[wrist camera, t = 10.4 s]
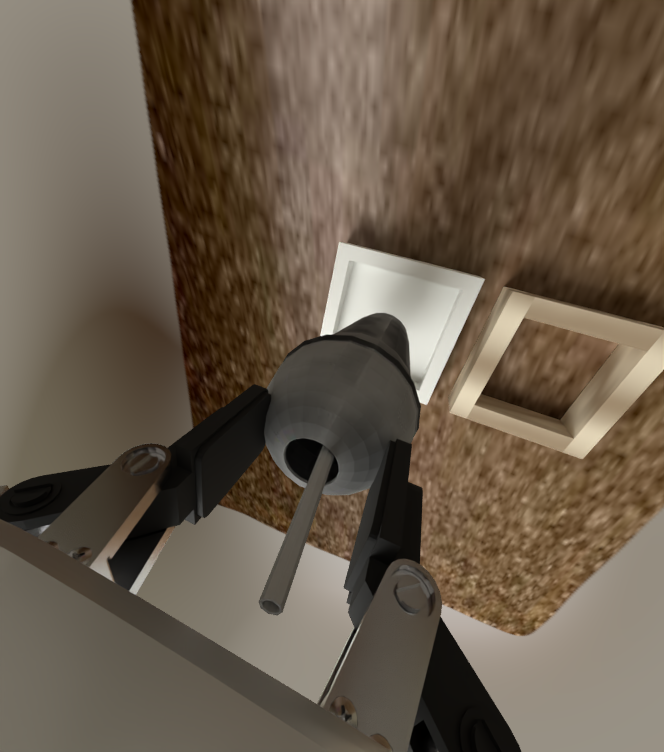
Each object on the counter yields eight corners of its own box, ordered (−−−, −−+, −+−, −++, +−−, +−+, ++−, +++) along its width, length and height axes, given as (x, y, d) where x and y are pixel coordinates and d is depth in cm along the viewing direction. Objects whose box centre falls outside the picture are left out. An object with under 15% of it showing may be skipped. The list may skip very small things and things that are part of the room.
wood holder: (503, 286, 23) (512, 291, 21) (660, 326, 21) (692, 337, 19) (448, 397, 29) (449, 412, 26) (567, 438, 27) (582, 459, 24)
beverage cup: (324, 319, 24) (51, 501, 7) (402, 277, 21) (257, 426, 3) (362, 389, 26) (218, 678, 8) (440, 360, 22) (468, 745, 5)
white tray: (347, 242, 26) (339, 242, 24) (480, 276, 24) (484, 279, 21) (322, 357, 32) (314, 365, 30) (427, 393, 29) (426, 404, 27)
